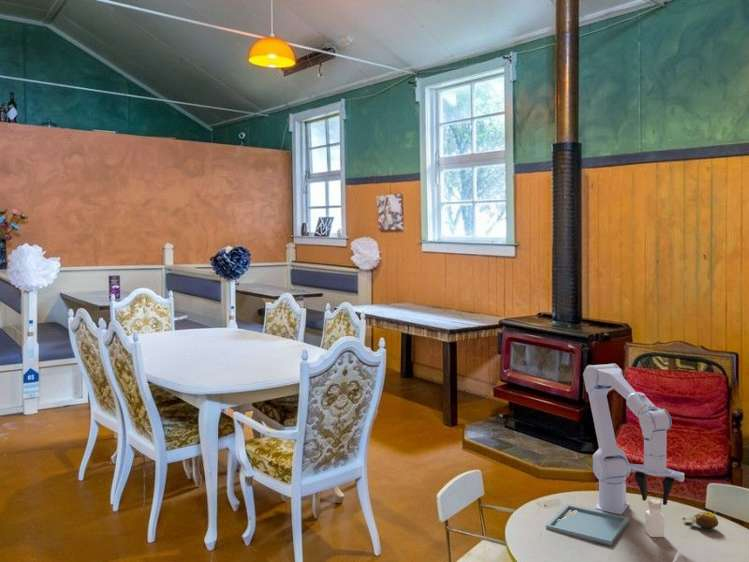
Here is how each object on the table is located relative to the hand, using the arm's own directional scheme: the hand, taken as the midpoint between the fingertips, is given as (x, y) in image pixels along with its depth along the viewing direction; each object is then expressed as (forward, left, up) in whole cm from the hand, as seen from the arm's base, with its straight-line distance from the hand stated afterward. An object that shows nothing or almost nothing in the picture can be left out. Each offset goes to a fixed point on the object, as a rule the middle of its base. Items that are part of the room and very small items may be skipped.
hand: (654, 501), depth 176 cm
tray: (+5, -17, -9) cm, 20 cm away
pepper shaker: (0, 0, -10) cm, 10 cm away
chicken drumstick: (-15, +6, -11) cm, 20 cm away
